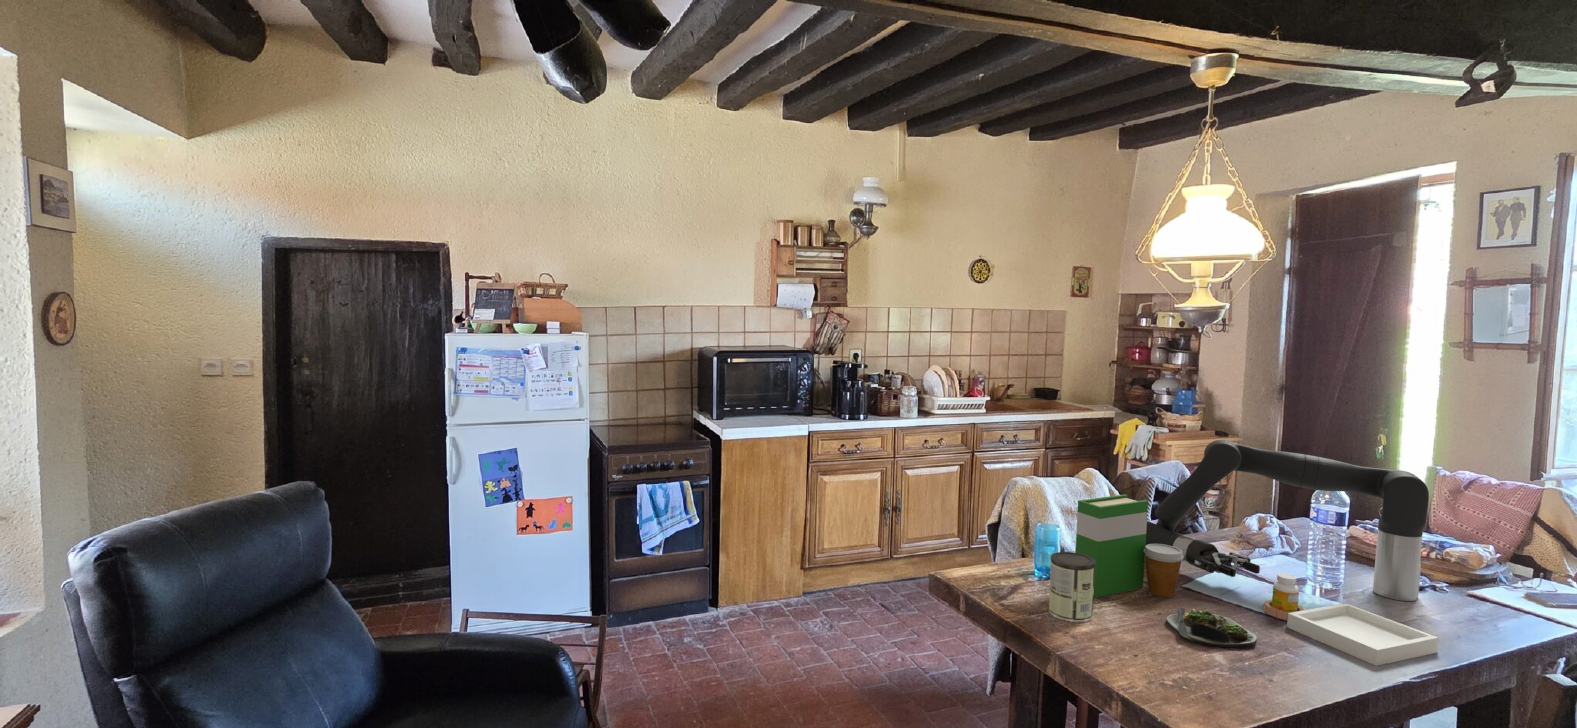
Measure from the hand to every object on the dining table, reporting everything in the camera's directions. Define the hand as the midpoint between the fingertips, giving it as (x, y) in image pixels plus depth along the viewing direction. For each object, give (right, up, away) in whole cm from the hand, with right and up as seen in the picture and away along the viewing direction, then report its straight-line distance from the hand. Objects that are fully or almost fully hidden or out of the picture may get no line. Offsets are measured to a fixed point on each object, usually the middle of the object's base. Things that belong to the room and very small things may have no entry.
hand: (1246, 571), depth 197 cm
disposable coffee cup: (-21, -7, +3) cm, 22 cm away
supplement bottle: (+3, -8, -10) cm, 13 cm away
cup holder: (+3, -8, -10) cm, 13 cm away
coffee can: (-51, -7, -12) cm, 53 cm away
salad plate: (-22, -9, -22) cm, 32 cm away
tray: (+12, -9, -24) cm, 28 cm away
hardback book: (-34, -6, +6) cm, 35 cm away
